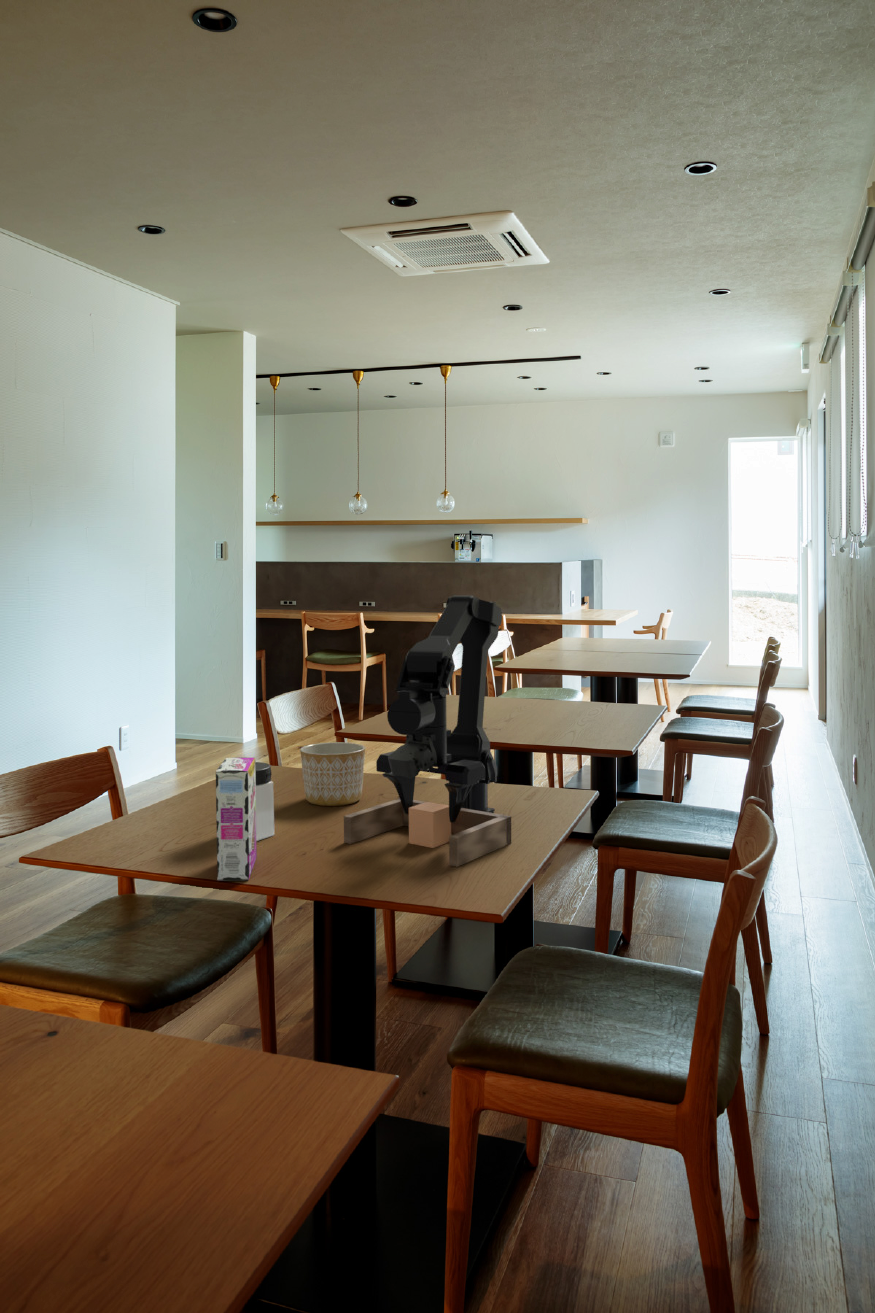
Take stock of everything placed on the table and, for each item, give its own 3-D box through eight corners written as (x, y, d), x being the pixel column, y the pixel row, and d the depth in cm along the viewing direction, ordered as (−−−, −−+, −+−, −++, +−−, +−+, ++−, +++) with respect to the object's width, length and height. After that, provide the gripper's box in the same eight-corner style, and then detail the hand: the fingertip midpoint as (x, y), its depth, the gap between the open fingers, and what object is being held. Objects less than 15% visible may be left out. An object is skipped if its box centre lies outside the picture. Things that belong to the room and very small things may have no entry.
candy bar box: (251, 881, 141) (248, 770, 140) (216, 882, 141) (213, 771, 139) (259, 858, 152) (256, 755, 151) (226, 859, 152) (223, 756, 150)
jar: (279, 838, 163) (277, 768, 162) (231, 845, 160) (229, 773, 158) (264, 826, 171) (263, 759, 170) (219, 832, 168) (217, 764, 166)
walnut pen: (402, 822, 173) (401, 797, 172) (511, 843, 159) (511, 816, 159) (344, 842, 160) (343, 816, 160) (457, 866, 147) (457, 838, 146)
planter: (377, 802, 188) (377, 749, 187) (319, 811, 181) (318, 756, 180) (346, 790, 199) (345, 740, 198) (290, 798, 192) (289, 746, 191)
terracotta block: (427, 836, 164) (426, 801, 163) (451, 841, 161) (450, 805, 160) (409, 843, 160) (408, 807, 159) (433, 848, 157) (432, 812, 156)
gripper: (353, 726, 158) (355, 820, 159) (446, 737, 147) (447, 838, 148) (396, 717, 167) (397, 806, 168) (486, 727, 156) (487, 822, 157)
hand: (430, 818), depth 160 cm, fingers open, 9 cm apart
